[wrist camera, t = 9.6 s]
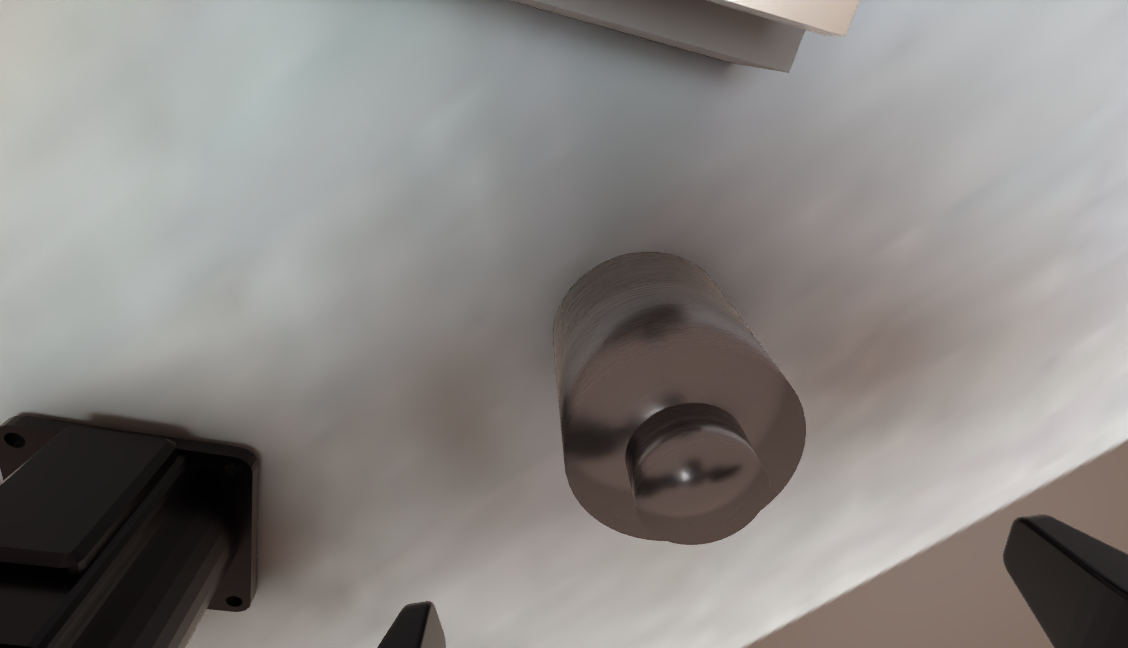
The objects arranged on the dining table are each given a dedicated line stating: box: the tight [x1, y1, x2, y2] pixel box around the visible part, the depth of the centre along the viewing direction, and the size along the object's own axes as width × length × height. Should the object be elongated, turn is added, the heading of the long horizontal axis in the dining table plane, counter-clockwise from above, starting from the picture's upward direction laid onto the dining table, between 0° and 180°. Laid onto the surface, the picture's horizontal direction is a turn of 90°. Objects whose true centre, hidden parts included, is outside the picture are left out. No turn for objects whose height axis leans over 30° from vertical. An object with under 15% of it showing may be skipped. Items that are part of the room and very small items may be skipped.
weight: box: [553, 252, 806, 545], centre depth 13 cm, size 5×5×6 cm
